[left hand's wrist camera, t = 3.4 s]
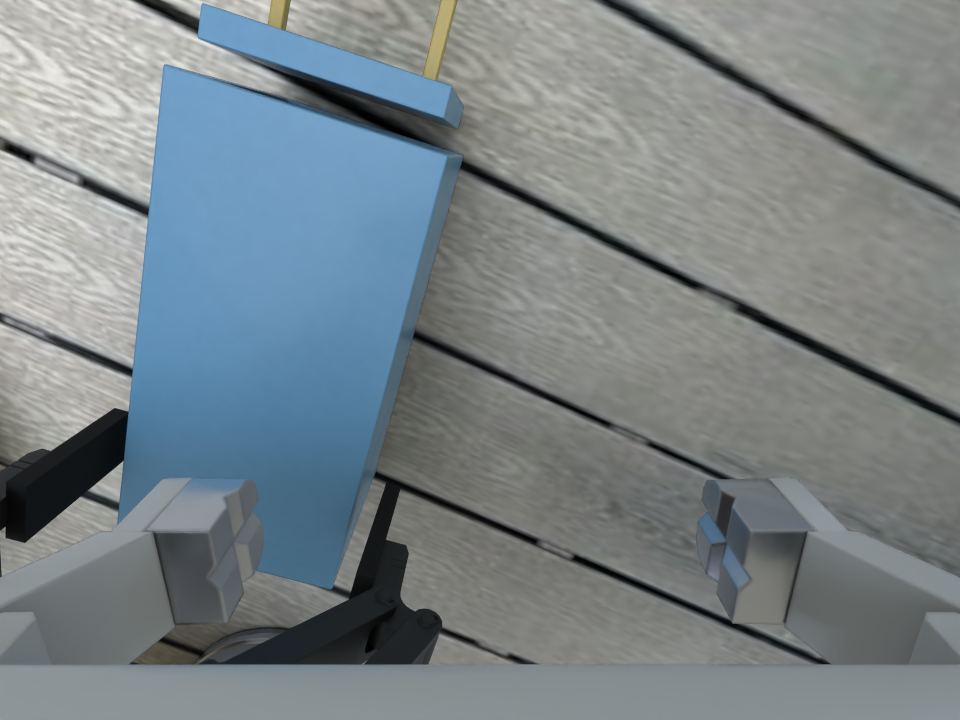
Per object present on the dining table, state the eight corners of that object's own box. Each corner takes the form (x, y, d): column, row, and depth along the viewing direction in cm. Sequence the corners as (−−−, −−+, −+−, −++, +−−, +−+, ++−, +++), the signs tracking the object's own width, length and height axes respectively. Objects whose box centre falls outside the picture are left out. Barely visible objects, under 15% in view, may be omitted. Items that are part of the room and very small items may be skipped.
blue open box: (275, 94, 31) (162, 62, 21) (463, 155, 32) (448, 155, 21) (220, 429, 38) (115, 535, 28) (375, 471, 39) (331, 590, 28)
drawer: (307, -68, 28) (221, -172, 19) (493, -3, 29) (494, -74, 20) (231, 389, 36) (146, 464, 27) (376, 430, 37) (340, 516, 28)
